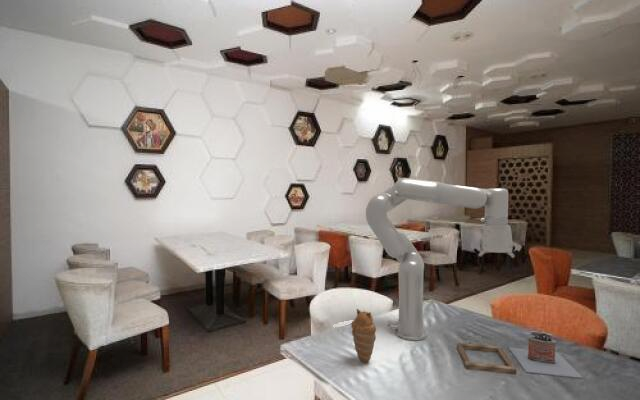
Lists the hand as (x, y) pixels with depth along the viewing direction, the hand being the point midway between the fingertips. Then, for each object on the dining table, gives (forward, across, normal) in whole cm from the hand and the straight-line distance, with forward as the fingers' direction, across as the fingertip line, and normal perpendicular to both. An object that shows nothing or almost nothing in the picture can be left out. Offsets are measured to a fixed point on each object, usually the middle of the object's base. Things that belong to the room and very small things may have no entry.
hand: (494, 266), depth 121 cm
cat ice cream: (+31, -47, -21) cm, 60 cm away
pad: (+30, +13, -9) cm, 34 cm away
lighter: (+30, +13, -8) cm, 34 cm away
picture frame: (+30, -6, -11) cm, 33 cm away
